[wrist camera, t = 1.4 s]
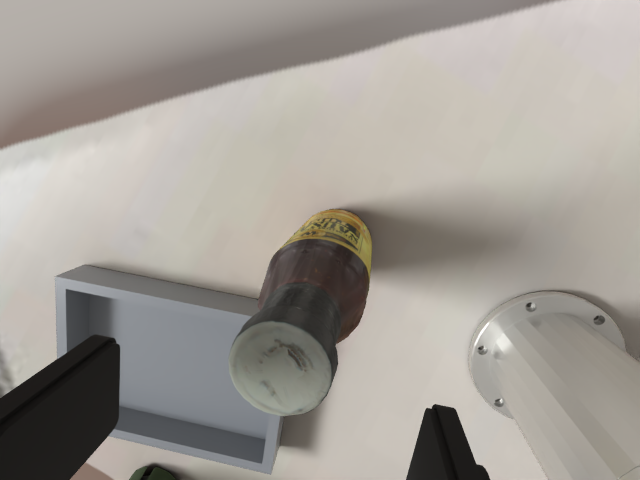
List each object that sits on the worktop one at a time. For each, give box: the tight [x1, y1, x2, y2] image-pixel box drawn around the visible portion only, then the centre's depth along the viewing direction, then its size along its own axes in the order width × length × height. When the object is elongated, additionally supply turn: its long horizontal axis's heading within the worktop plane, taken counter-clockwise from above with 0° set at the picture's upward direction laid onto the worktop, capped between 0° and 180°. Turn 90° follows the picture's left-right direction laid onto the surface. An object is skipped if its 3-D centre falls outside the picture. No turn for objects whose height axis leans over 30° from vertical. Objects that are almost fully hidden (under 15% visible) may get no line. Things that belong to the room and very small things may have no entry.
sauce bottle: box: [228, 209, 372, 416], centre depth 23 cm, size 7×6×20 cm
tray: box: [55, 265, 284, 475], centre depth 35 cm, size 22×16×4 cm
